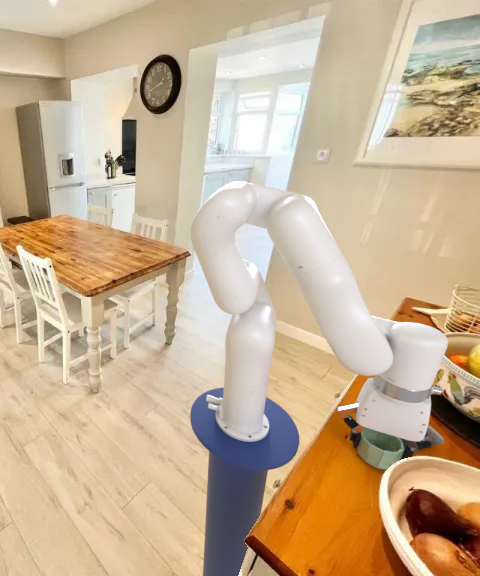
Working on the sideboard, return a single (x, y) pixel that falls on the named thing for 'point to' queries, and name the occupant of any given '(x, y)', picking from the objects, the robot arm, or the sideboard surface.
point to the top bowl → (380, 448)
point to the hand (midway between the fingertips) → (377, 450)
